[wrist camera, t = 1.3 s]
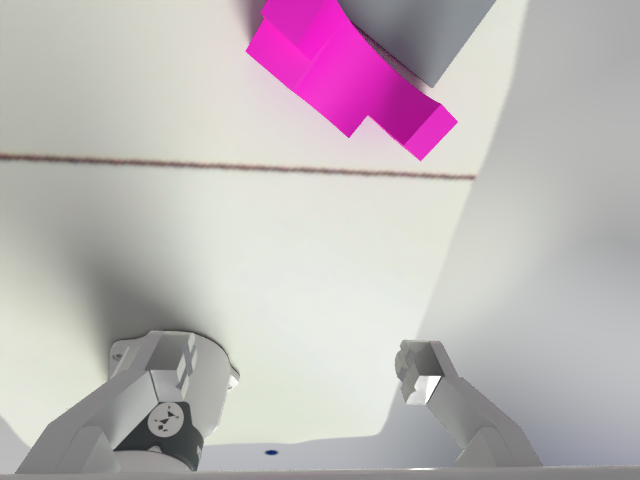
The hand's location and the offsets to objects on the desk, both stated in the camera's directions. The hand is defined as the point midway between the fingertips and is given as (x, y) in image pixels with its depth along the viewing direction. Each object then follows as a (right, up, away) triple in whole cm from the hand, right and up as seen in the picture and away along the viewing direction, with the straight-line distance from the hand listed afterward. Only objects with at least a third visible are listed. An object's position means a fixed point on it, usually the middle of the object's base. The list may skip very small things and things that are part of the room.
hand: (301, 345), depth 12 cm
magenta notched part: (+3, +19, +15) cm, 24 cm away
